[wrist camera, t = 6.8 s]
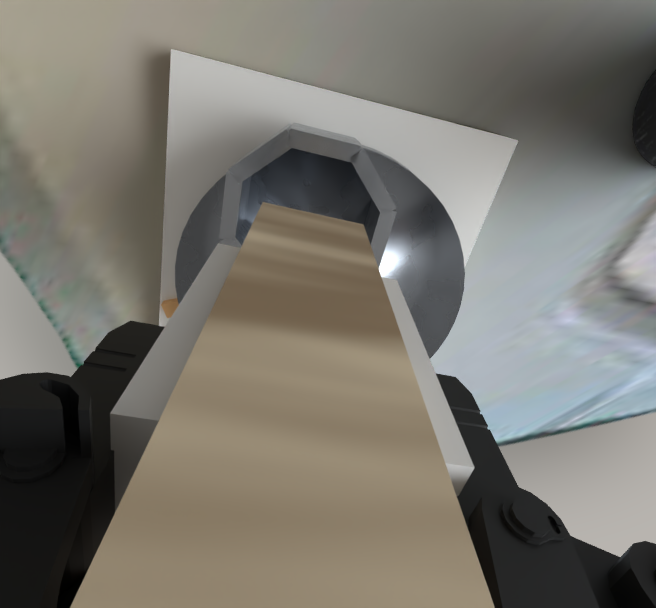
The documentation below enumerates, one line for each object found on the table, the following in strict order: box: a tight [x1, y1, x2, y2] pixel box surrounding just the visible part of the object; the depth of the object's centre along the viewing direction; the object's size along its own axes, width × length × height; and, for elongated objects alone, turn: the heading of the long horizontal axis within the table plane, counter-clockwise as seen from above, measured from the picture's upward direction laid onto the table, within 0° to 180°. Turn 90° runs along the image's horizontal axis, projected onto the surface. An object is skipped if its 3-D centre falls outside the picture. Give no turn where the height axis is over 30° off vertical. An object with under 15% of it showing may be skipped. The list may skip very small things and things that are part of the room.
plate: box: [159, 49, 519, 327], centre depth 25 cm, size 18×18×2 cm
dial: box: [175, 123, 465, 359], centre depth 22 cm, size 16×16×5 cm
